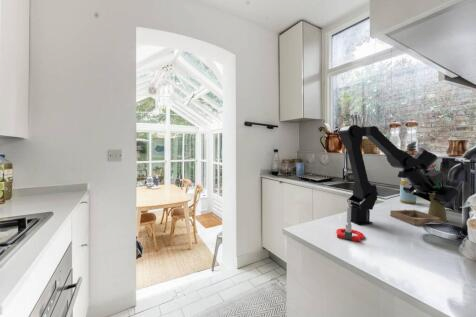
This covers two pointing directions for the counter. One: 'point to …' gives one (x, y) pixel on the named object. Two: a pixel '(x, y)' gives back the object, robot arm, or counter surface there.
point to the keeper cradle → (423, 218)
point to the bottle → (405, 196)
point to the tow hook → (349, 228)
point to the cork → (437, 208)
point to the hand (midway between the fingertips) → (440, 203)
